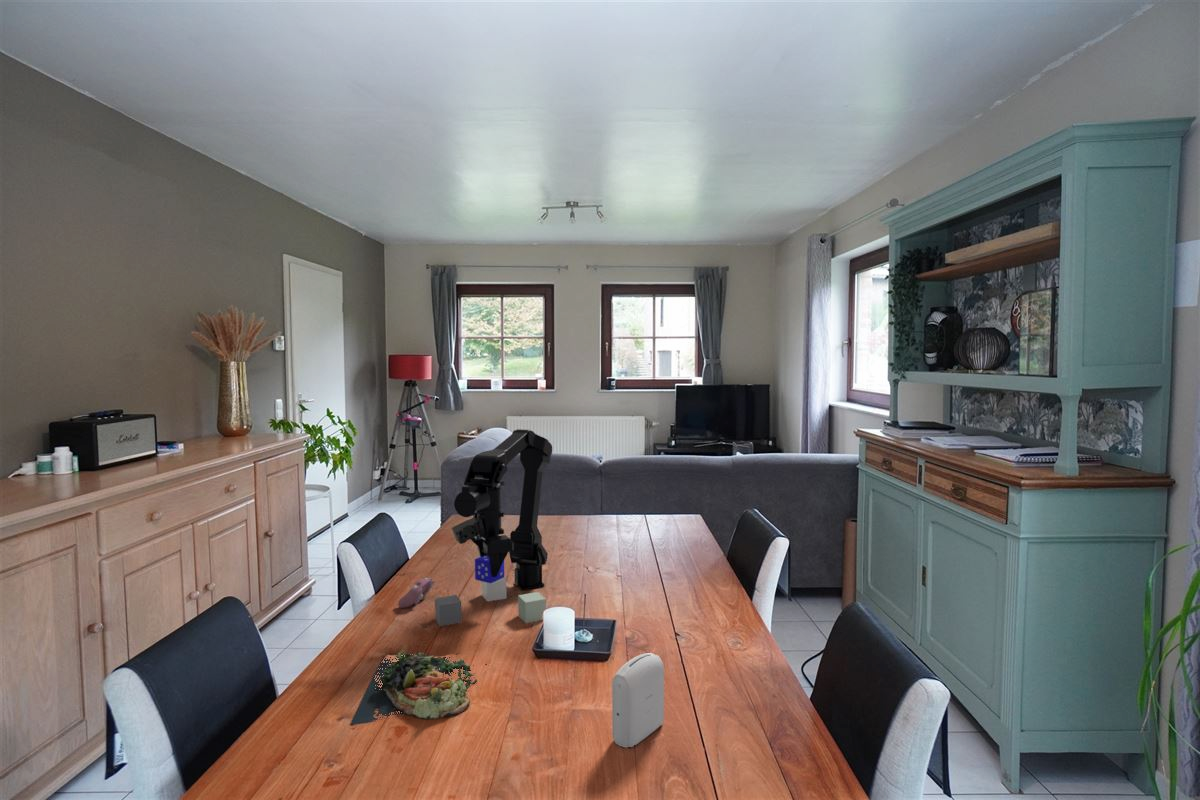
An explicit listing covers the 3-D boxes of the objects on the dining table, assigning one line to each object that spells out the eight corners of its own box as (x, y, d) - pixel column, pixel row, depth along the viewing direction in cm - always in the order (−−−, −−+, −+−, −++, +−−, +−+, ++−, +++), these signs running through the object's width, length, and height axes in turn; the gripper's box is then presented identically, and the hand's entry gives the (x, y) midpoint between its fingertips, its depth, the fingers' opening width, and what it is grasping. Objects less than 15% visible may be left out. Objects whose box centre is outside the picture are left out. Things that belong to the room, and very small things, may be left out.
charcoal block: (456, 615, 153) (456, 594, 153) (461, 623, 148) (461, 601, 148) (435, 619, 151) (434, 598, 150) (439, 627, 146) (439, 605, 146)
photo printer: (629, 752, 99) (629, 674, 98) (608, 742, 102) (608, 666, 101) (667, 724, 107) (668, 651, 106) (646, 715, 110) (646, 644, 109)
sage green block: (538, 612, 155) (538, 591, 154) (545, 619, 150) (545, 598, 150) (518, 616, 152) (518, 595, 152) (525, 623, 148) (525, 602, 148)
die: (488, 573, 157) (488, 553, 157) (504, 577, 154) (504, 556, 154) (474, 579, 153) (474, 559, 152) (491, 583, 150) (490, 562, 150)
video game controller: (410, 616, 156) (422, 591, 155) (395, 606, 157) (406, 582, 156) (429, 601, 166) (440, 578, 165) (414, 592, 167) (425, 569, 166)
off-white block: (500, 592, 168) (500, 573, 168) (506, 598, 164) (506, 579, 163) (481, 595, 166) (481, 576, 166) (487, 602, 161) (486, 582, 161)
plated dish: (504, 740, 104) (502, 695, 103) (320, 757, 100) (318, 711, 99) (506, 647, 138) (505, 613, 138) (370, 657, 134) (369, 623, 134)
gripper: (445, 503, 157) (446, 566, 158) (465, 520, 140) (466, 590, 141) (490, 498, 162) (490, 559, 163) (514, 514, 145) (514, 582, 146)
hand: (489, 572), depth 153 cm, fingers closed on die, 7 cm apart
